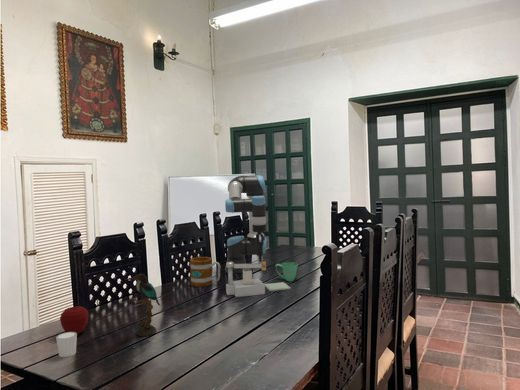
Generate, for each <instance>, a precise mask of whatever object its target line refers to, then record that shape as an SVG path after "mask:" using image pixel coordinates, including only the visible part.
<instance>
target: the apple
mask: <svg viewBox="0 0 520 390" xmlns="http://www.w3.org/2000/svg"><path fill="white" fill-rule="evenodd" d="M89 315H90V314H89V311H88V309H87V308H85V307H83V306H80V305H79V306H78V305H77V306H71V307H68V308H65V309H64V311H62V312H61V314H60V317H59V321H60V324H61V327H62V329H63V331H64V333H66V332H75V333H77V335H79V334H81V333H82V332H83V331H85V329H86V327H87V324H88V322H89V317H90V316H89Z"/></svg>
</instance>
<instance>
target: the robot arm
mask: <svg viewBox="0 0 520 390" xmlns="http://www.w3.org/2000/svg"><path fill="white" fill-rule="evenodd" d="M227 184H228V185H227V191H228V199H226V200H225V203H224V204H225V212H226V213H232V214H235V213H248V219H249V220H248V221H249V222H248V223H249V224H248V225H249V233H248V234H247V236H246V237H245V236H244V235H235V236H231V237H229V238H228V239H227V240H226V242H227V243H226V246H227V247H226V248H227V260H226V262H234V264H247V261H246V256H257V264H259V263H261V262H264V260H263V258H264V256H263V255H265V253H266V251H267V242H268V240H267V237H266V236H265V234H264V233H265V232H267V213H266V210H267V209H266V204H267V203H266V197H265V196H264V195H265V193H266V192H267V189H266V183H265V178H264V176H263V175H257V174H253V175H252V174H251V175H238V176H236V177H234V178H232V179H231V180H230V181H229V182H228V183H227ZM242 194H246V195H245V196H246V197H247V198H242ZM263 232H264V233H263ZM224 271H225V273H227V274H228V268H227V267H226V266H225V270H224ZM232 272H233V274H241V273H242V274H243V268H234V267H232Z"/></svg>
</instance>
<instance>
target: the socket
mask: <svg viewBox="0 0 520 390" xmlns="http://www.w3.org/2000/svg"><path fill="white" fill-rule="evenodd" d="M233 275H234V273H233V272H232V268H228V273H227V276H228V277H227V278H228V283H226V284H225V291H226V296H231V295H233V296H235V297H236V298H239V297H241V298H242V297H248V296H249V297H250V296H258V295H265V294H266V287H265V285H264V284H265V283H264V282H263V281H261V280H260V279H259V278H252V280H253V281H254V283H253V284H247V285H243V284H242V282H241V280H242V279H239V280H234V279H233V278H234V277H233Z"/></svg>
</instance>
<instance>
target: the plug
mask: <svg viewBox="0 0 520 390" xmlns="http://www.w3.org/2000/svg"><path fill="white" fill-rule="evenodd" d="M252 279H253V268H243V273H242V279H240V280H241V282H242V284H243V285H247V284H253V283H254V281H253V280H252Z"/></svg>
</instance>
